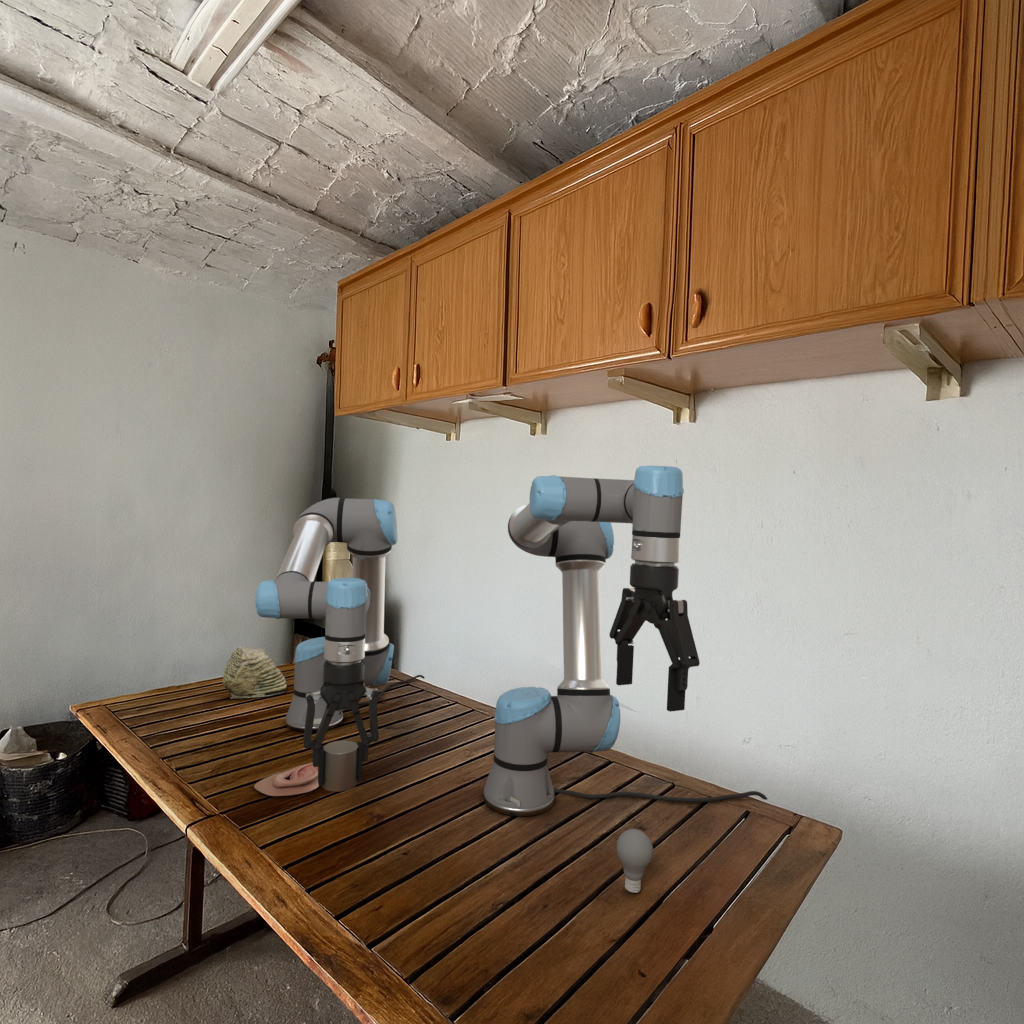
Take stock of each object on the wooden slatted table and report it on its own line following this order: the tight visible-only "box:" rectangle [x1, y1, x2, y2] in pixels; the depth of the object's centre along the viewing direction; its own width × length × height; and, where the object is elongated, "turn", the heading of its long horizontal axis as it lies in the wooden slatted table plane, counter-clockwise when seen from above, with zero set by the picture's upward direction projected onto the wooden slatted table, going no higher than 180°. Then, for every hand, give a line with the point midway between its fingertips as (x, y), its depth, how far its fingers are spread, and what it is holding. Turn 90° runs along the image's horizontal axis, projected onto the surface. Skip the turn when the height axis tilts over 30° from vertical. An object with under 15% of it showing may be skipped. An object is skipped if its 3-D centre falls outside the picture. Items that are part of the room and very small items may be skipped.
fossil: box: [222, 646, 288, 699], centre depth 198 cm, size 9×18×15 cm, turn 132°
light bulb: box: [615, 828, 654, 894], centre depth 106 cm, size 6×6×10 cm
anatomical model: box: [253, 762, 320, 797], centre depth 138 cm, size 13×4×12 cm
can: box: [321, 740, 358, 793], centre depth 121 cm, size 6×6×7 cm
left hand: (339, 779), depth 121 cm, fingers closed on can, 6 cm apart
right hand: (648, 696), depth 101 cm, fingers open, 13 cm apart
